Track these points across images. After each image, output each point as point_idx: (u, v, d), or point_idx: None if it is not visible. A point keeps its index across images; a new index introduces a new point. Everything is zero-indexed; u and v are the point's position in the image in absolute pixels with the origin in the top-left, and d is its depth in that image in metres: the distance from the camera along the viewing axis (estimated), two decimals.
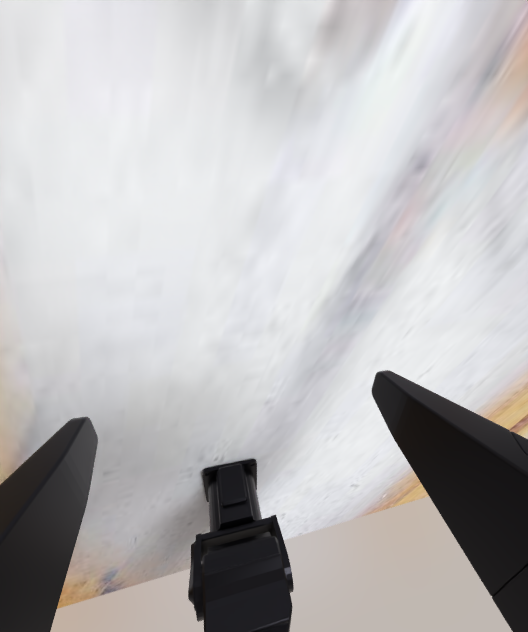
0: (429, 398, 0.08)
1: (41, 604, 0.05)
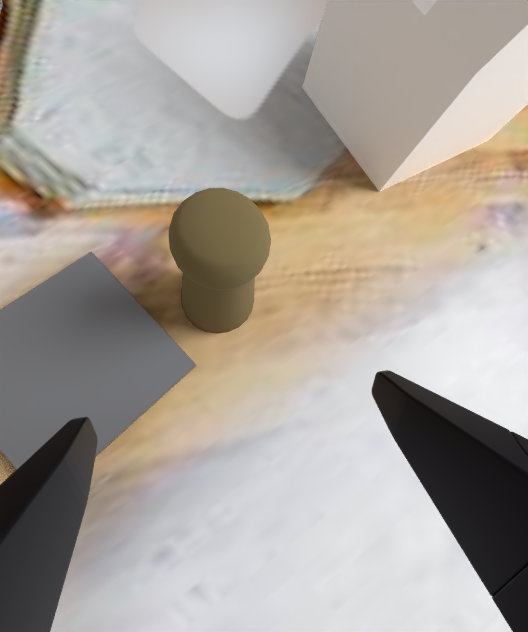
0: (429, 398, 0.08)
1: (41, 604, 0.05)
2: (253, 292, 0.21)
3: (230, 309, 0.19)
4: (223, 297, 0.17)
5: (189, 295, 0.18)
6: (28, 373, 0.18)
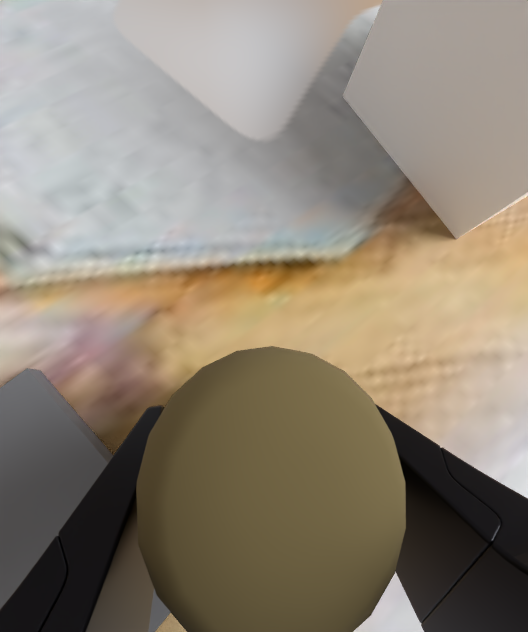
0: None
1: (148, 575, 0.06)
2: None
3: None
4: None
5: None
6: None
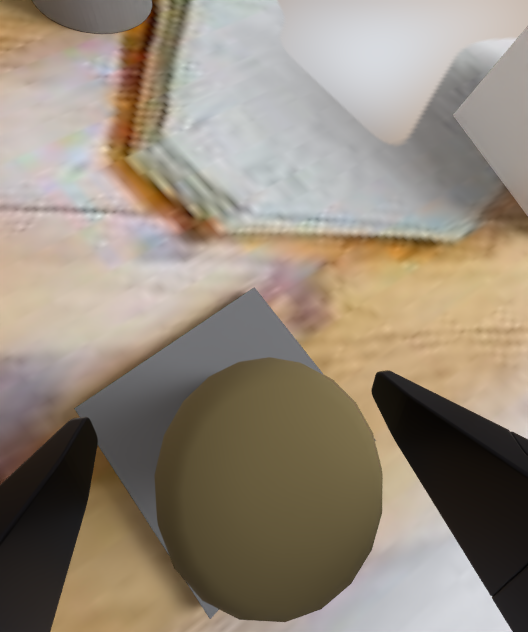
0: (429, 398, 0.08)
1: (41, 604, 0.05)
2: None
3: None
4: None
5: None
6: None
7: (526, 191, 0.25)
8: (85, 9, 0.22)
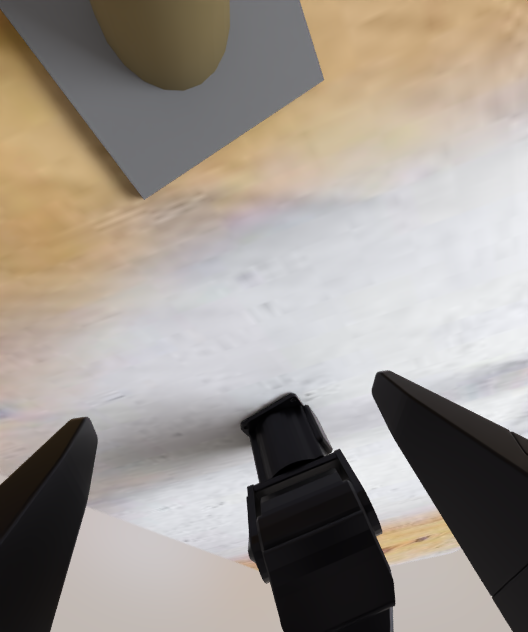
0: (429, 398, 0.08)
1: (41, 604, 0.05)
2: (227, 5, 0.11)
3: (179, 42, 0.10)
4: (155, 3, 0.08)
5: None
6: None
7: None
8: None
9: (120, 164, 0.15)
